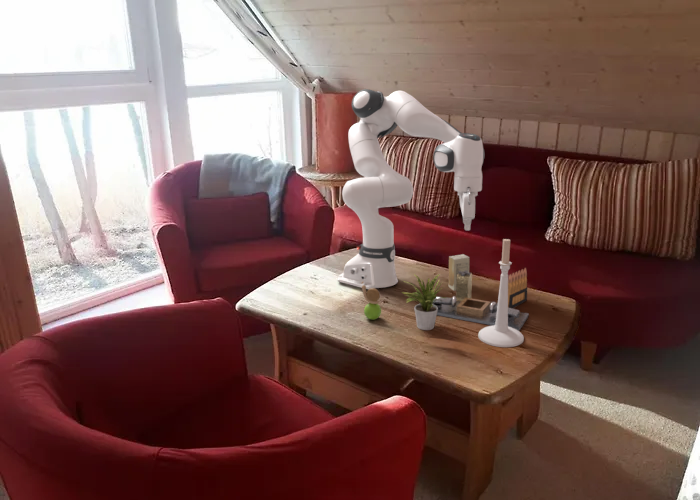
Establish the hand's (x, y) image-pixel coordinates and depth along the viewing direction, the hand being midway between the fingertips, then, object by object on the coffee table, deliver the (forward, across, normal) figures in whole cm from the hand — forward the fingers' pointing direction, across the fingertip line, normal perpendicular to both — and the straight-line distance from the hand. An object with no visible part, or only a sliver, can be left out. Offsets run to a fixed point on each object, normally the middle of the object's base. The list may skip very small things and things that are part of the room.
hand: (466, 226), depth 190 cm
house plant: (+26, -22, +13) cm, 37 cm away
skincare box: (+26, +10, +2) cm, 28 cm away
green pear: (+26, -19, +30) cm, 44 cm away
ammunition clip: (+26, -3, -17) cm, 31 cm away
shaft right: (+25, -17, -11) cm, 32 cm away
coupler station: (+26, -13, -2) cm, 29 cm away
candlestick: (+26, -29, -9) cm, 40 cm away
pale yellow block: (+26, 0, 0) cm, 26 cm away
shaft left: (+25, -11, +8) cm, 28 cm away
